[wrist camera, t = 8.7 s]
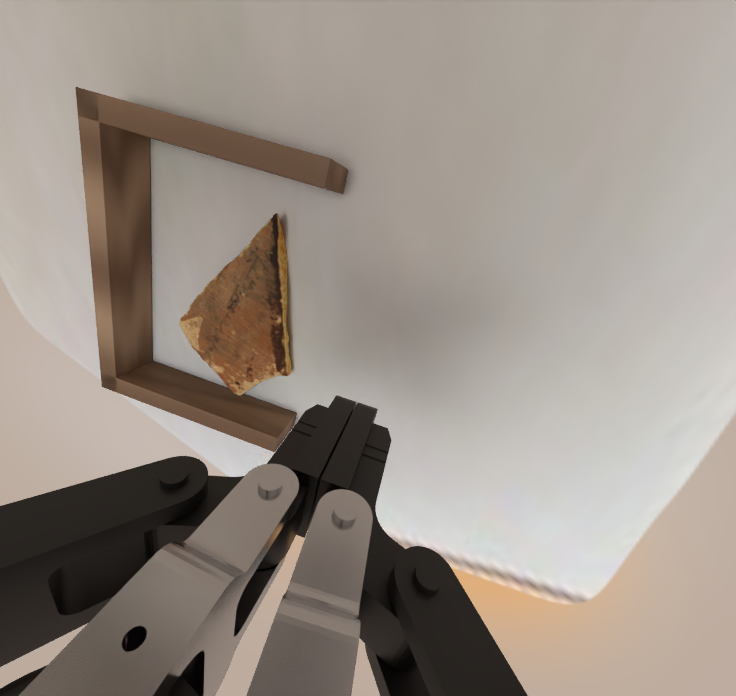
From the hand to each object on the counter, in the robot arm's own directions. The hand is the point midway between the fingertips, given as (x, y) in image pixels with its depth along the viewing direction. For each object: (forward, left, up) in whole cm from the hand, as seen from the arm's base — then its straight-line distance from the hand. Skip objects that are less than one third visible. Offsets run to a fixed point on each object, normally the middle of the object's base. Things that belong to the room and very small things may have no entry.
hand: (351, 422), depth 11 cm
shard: (+1, -10, -10) cm, 15 cm away
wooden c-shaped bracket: (0, -11, -9) cm, 14 cm away
